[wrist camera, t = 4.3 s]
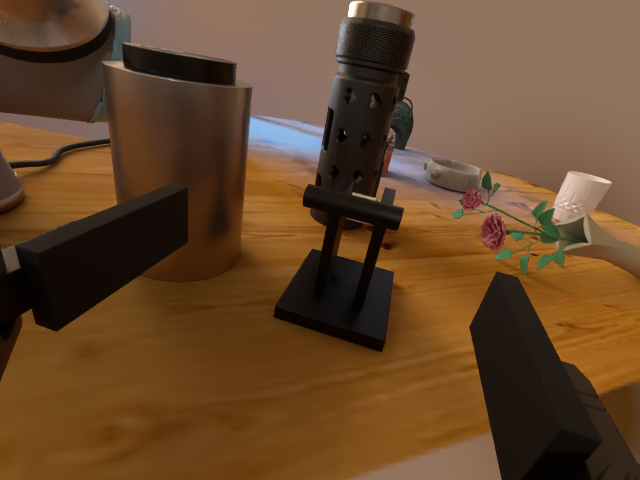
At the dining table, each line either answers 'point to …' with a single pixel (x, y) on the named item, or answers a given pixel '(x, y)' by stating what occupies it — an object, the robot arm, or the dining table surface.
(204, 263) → the metal tumbler
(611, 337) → the dining table surface
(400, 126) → the ceramic cat
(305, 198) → the switch lever
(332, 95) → the muzzle brake
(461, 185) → the dish
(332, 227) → the switch base
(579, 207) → the white cup
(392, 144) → the lighter
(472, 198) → the flower vase
